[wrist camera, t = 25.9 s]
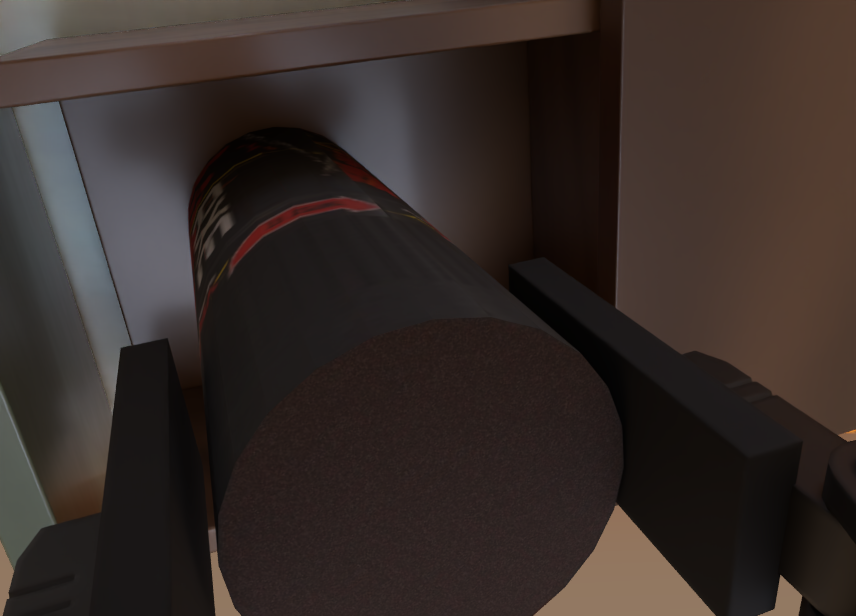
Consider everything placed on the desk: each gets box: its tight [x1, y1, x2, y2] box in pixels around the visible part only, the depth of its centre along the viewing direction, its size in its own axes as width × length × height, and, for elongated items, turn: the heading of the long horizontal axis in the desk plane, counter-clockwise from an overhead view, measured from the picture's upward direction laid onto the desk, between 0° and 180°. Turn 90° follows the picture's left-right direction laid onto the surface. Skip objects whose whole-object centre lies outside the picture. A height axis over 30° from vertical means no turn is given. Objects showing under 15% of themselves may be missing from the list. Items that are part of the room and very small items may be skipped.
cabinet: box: [597, 0, 856, 506], centre depth 24 cm, size 19×15×11 cm
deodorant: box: [188, 127, 624, 616], centre depth 17 cm, size 6×6×15 cm
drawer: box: [0, 0, 601, 570], centre depth 20 cm, size 23×14×9 cm, turn 96°
